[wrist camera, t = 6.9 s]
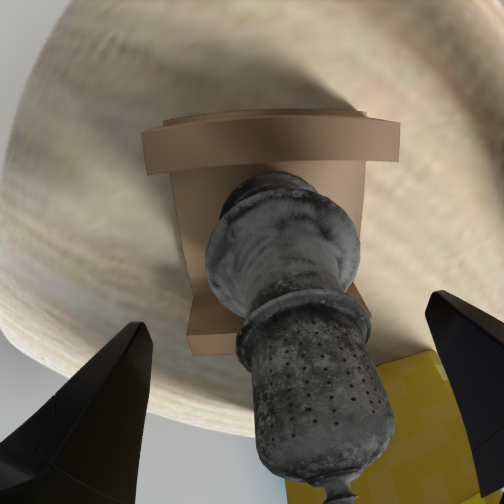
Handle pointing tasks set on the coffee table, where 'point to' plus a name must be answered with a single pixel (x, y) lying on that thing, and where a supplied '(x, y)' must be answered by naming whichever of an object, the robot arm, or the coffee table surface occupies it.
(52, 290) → the coffee table surface
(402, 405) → the book
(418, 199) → the coffee table surface
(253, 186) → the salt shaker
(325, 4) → the coffee table surface
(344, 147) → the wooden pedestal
